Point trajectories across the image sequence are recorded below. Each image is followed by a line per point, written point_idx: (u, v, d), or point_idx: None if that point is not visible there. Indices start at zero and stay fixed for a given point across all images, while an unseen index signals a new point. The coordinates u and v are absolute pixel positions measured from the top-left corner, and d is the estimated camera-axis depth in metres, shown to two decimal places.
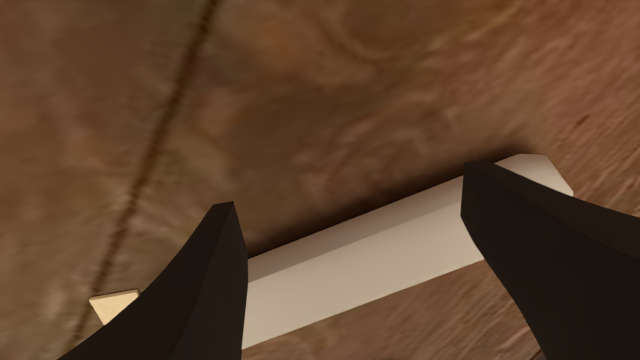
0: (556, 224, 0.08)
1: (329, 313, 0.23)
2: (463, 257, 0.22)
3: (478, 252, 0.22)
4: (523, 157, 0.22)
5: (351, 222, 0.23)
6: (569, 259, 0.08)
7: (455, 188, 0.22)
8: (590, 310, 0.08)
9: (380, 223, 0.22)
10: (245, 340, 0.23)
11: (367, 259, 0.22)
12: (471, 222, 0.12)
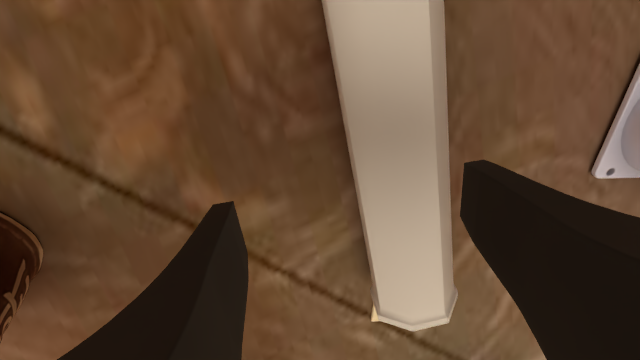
0: (557, 224, 0.08)
1: (432, 175, 0.18)
2: None
3: None
4: None
5: (341, 108, 0.19)
6: (569, 259, 0.08)
7: None
8: (590, 310, 0.08)
9: (339, 83, 0.17)
10: (430, 258, 0.21)
11: (371, 120, 0.17)
12: (471, 222, 0.12)
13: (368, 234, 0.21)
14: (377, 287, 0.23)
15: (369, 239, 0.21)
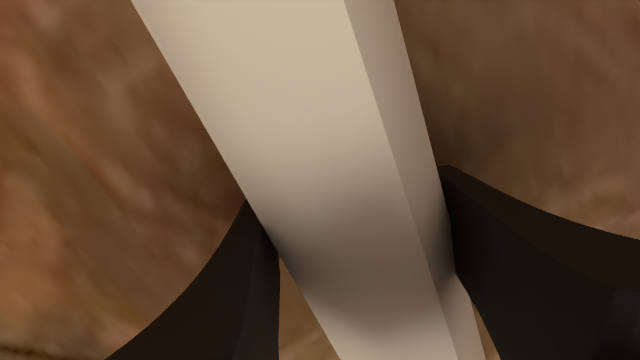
0: (508, 232, 0.08)
1: (437, 325, 0.11)
2: (320, 59, 0.07)
3: (305, 10, 0.07)
4: None
5: None
6: (519, 268, 0.08)
7: None
8: (538, 320, 0.08)
9: None
10: None
11: (316, 265, 0.10)
12: None
13: None
14: None
15: None
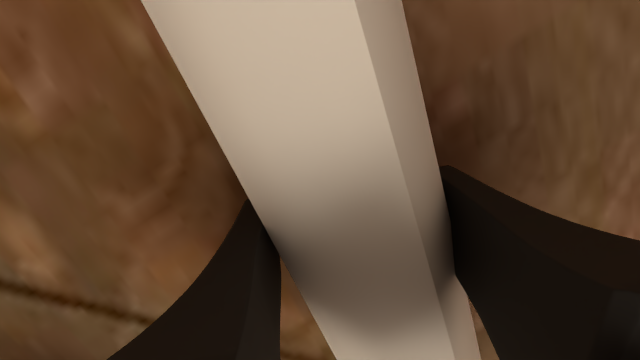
0: (506, 232, 0.08)
1: (436, 327, 0.11)
2: (328, 56, 0.07)
3: (314, 6, 0.07)
4: None
5: None
6: (518, 268, 0.08)
7: None
8: (536, 320, 0.08)
9: None
10: None
11: (317, 265, 0.10)
12: None
13: None
14: None
15: None
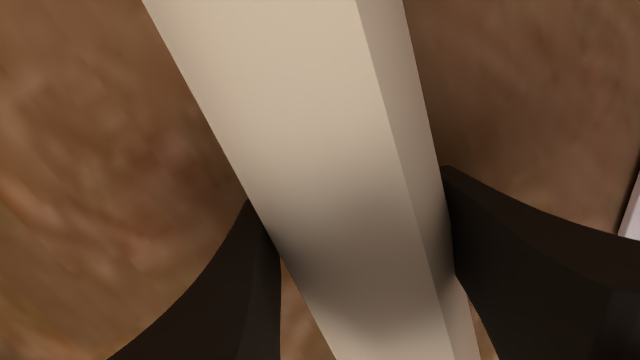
0: (506, 232, 0.08)
1: (436, 327, 0.11)
2: (329, 56, 0.07)
3: (315, 6, 0.07)
4: None
5: None
6: (518, 268, 0.08)
7: None
8: (536, 320, 0.08)
9: None
10: None
11: (317, 265, 0.10)
12: None
13: None
14: None
15: None
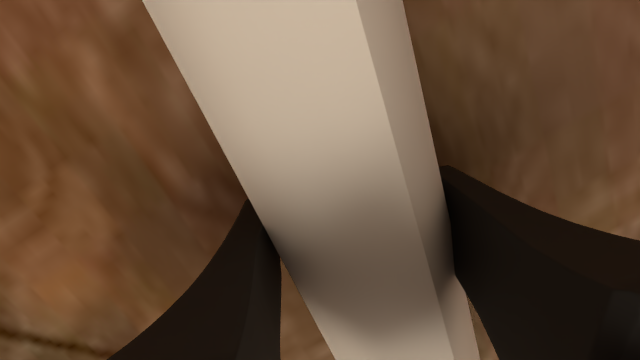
0: (506, 233, 0.08)
1: (436, 328, 0.11)
2: (329, 57, 0.07)
3: (315, 6, 0.07)
4: None
5: None
6: (517, 268, 0.08)
7: None
8: (536, 320, 0.08)
9: None
10: None
11: (316, 266, 0.10)
12: None
13: None
14: None
15: None
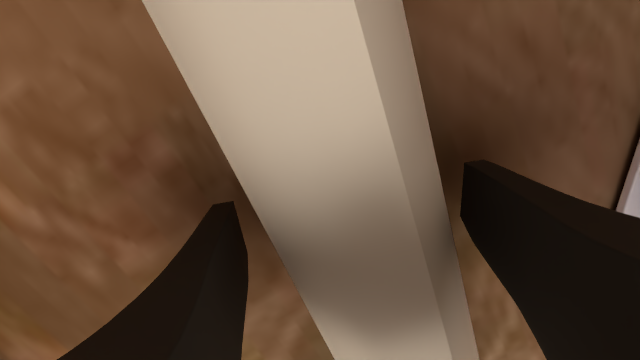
0: (557, 224, 0.08)
1: (434, 328, 0.11)
2: (328, 57, 0.07)
3: (314, 7, 0.07)
4: None
5: None
6: (569, 259, 0.08)
7: None
8: (590, 310, 0.08)
9: None
10: None
11: (315, 266, 0.10)
12: (472, 222, 0.12)
13: None
14: None
15: None
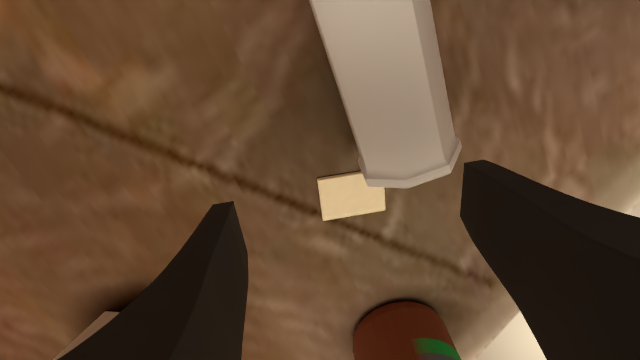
0: (556, 224, 0.08)
1: None
2: None
3: None
4: None
5: None
6: (569, 259, 0.08)
7: None
8: (590, 310, 0.08)
9: None
10: (412, 76, 0.16)
11: None
12: (471, 222, 0.12)
13: (331, 58, 0.17)
14: (357, 138, 0.19)
15: (334, 65, 0.17)
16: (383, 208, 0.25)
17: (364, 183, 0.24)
